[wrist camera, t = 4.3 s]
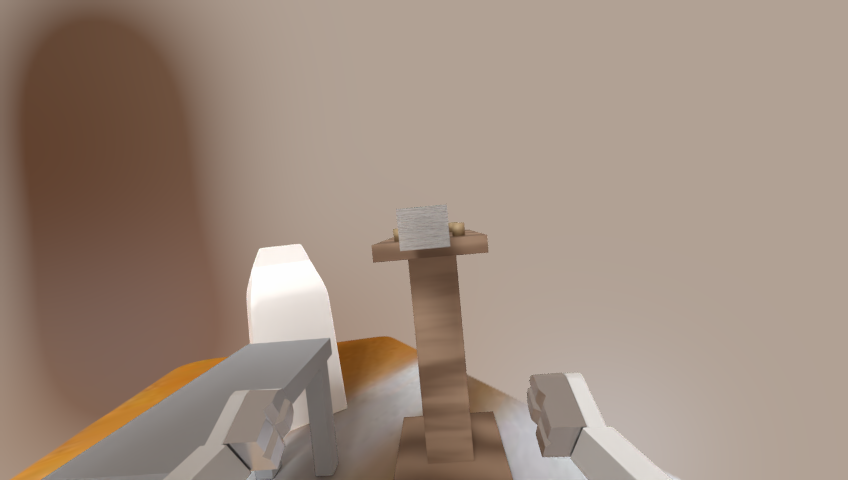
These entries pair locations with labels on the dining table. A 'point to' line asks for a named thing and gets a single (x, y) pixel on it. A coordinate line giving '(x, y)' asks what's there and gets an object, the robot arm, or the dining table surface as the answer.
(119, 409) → the dining table surface
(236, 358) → the slate bench
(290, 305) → the milk
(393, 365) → the dining table surface
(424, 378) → the walnut stand
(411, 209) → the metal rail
